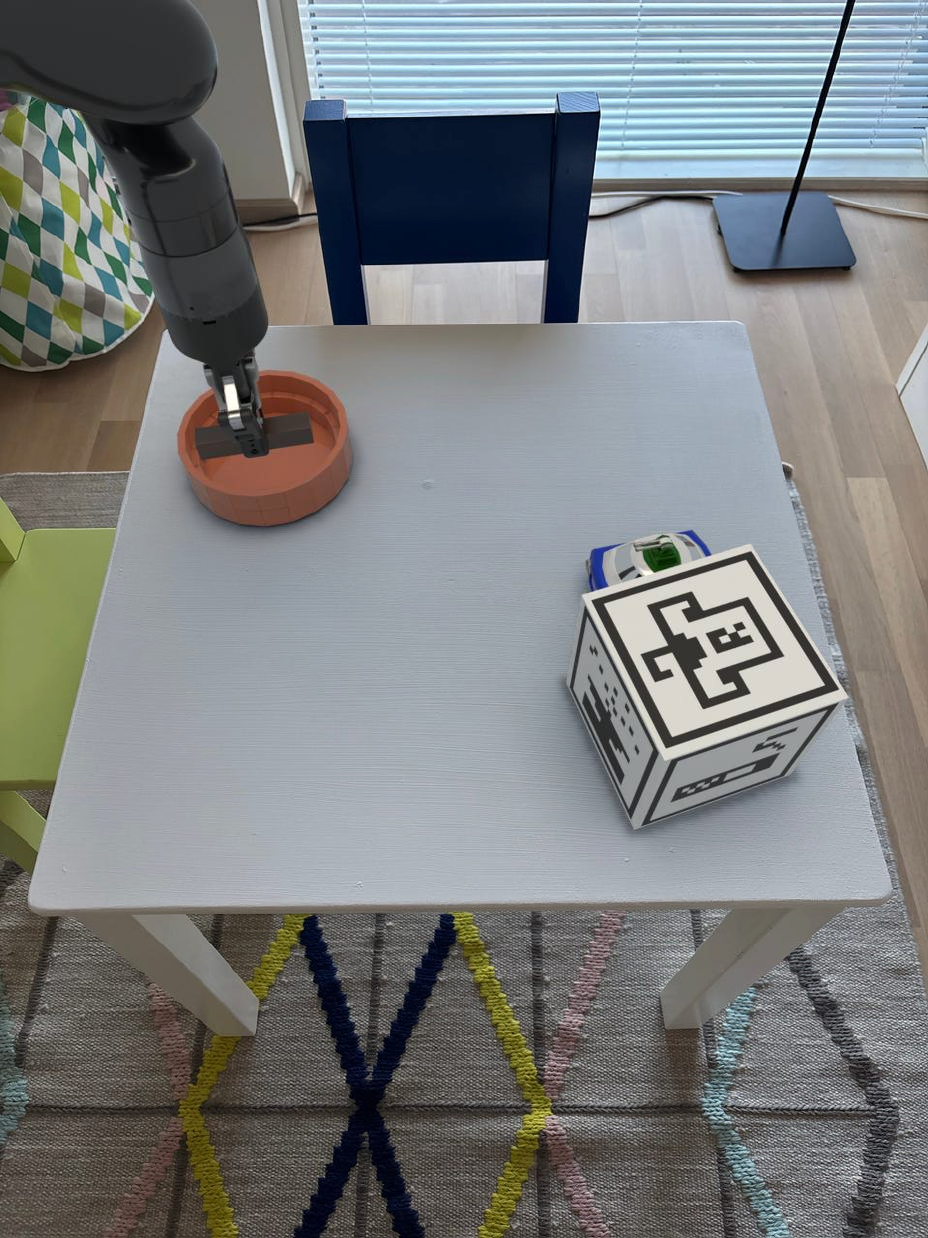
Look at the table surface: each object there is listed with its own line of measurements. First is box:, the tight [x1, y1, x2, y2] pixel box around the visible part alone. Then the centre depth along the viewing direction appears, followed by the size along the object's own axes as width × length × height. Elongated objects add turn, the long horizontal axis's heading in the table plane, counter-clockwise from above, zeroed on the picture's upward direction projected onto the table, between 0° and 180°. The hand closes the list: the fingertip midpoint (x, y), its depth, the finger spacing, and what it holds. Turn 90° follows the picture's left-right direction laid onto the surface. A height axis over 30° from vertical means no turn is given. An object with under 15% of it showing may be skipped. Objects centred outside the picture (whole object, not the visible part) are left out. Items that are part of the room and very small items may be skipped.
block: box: [565, 543, 850, 831], centre depth 76 cm, size 15×15×15 cm
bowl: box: [176, 369, 354, 527], centre depth 98 cm, size 18×18×6 cm
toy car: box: [585, 529, 713, 592], centre depth 86 cm, size 9×12×10 cm
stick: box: [194, 411, 314, 460], centre depth 80 cm, size 2×10×2 cm, turn 101°
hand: (256, 442), depth 81 cm, fingers closed on stick, 2 cm apart
